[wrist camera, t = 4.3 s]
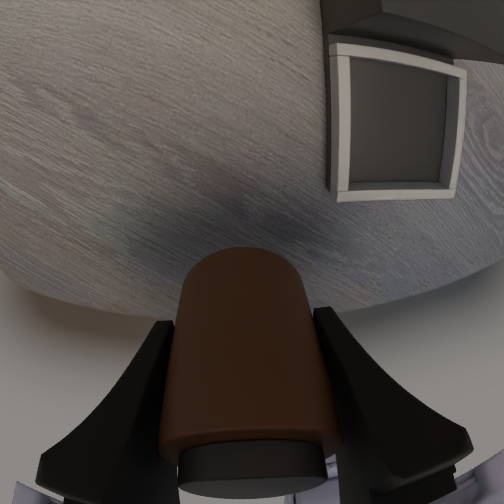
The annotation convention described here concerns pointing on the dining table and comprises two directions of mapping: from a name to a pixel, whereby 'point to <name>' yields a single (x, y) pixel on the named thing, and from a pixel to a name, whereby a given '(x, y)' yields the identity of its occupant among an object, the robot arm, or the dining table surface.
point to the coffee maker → (401, 92)
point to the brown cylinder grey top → (247, 382)
